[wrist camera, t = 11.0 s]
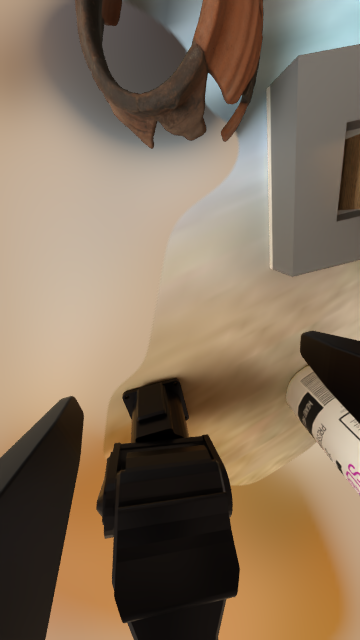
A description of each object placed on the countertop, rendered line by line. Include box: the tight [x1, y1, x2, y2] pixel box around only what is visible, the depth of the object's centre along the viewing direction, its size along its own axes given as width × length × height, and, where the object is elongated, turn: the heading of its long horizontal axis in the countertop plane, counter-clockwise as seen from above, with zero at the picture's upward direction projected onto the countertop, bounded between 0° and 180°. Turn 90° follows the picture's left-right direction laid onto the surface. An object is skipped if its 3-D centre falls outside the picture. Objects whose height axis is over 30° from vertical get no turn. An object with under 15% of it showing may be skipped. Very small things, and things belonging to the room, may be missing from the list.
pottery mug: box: [75, 0, 263, 149], centre depth 12 cm, size 12×10×8 cm
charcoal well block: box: [266, 44, 360, 277], centre depth 17 cm, size 13×13×4 cm
